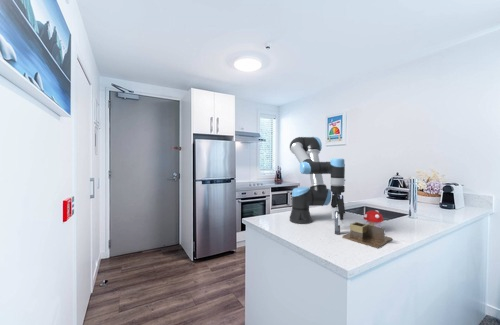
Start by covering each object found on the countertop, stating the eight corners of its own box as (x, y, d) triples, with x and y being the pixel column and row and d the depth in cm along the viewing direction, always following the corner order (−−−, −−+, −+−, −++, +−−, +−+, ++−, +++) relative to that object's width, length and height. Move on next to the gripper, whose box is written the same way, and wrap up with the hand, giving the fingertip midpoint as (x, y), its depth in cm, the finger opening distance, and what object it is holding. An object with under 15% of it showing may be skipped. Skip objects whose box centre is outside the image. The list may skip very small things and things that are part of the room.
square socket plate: (342, 237, 118) (342, 224, 118) (358, 230, 129) (358, 218, 129) (377, 248, 104) (377, 233, 104) (392, 239, 115) (392, 225, 115)
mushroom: (373, 234, 124) (373, 213, 123) (359, 228, 134) (359, 209, 134) (388, 232, 126) (388, 212, 126) (372, 226, 137) (372, 207, 137)
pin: (333, 233, 124) (333, 211, 124) (336, 232, 126) (336, 210, 126) (338, 235, 122) (338, 212, 122) (341, 233, 124) (341, 211, 124)
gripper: (351, 188, 111) (351, 228, 111) (338, 182, 135) (338, 216, 136) (336, 187, 112) (336, 228, 112) (325, 182, 136) (325, 215, 137)
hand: (337, 221), depth 124 cm, fingers open, 13 cm apart
